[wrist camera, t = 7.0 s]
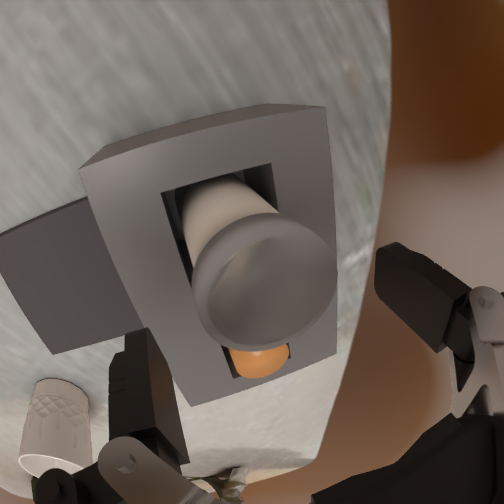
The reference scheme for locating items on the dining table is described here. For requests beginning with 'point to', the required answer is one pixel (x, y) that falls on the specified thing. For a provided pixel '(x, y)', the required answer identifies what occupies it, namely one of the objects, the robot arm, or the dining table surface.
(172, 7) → the dining table surface
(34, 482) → the character mug
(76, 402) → the white cup
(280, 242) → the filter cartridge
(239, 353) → the release plunger
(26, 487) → the dining table surface
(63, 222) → the mat
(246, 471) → the artificial flower
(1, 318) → the dining table surface
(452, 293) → the robot arm
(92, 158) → the block
